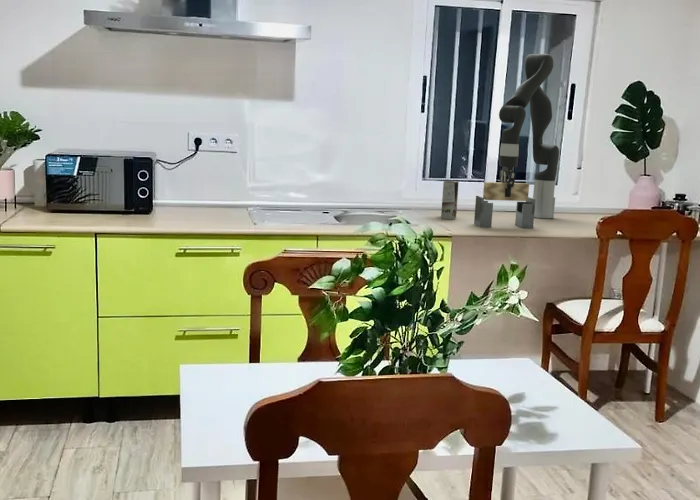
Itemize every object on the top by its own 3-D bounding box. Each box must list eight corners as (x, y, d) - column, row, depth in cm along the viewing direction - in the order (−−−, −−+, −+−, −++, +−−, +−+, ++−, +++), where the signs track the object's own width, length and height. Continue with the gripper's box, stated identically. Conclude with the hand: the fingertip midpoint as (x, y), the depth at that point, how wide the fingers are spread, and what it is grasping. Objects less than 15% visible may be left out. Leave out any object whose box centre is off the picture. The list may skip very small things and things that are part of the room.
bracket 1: (479, 227, 310) (481, 198, 308) (473, 224, 318) (476, 195, 315) (491, 227, 311) (493, 198, 308) (485, 224, 318) (487, 196, 316)
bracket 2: (526, 225, 321) (528, 197, 318) (533, 228, 313) (535, 199, 311) (515, 224, 320) (517, 196, 318) (521, 227, 312) (524, 199, 310)
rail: (524, 199, 316) (525, 183, 315) (527, 201, 312) (529, 184, 311) (482, 198, 314) (484, 181, 313) (485, 199, 310) (487, 182, 309)
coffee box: (455, 219, 328) (457, 182, 325) (440, 218, 330) (442, 181, 327) (456, 216, 337) (459, 180, 334) (442, 215, 338) (444, 180, 335)
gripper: (523, 156, 303) (520, 198, 307) (512, 154, 317) (508, 194, 320) (505, 155, 302) (502, 198, 306) (494, 153, 316) (491, 194, 319)
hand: (505, 196), depth 313 cm, fingers closed on rail, 4 cm apart
